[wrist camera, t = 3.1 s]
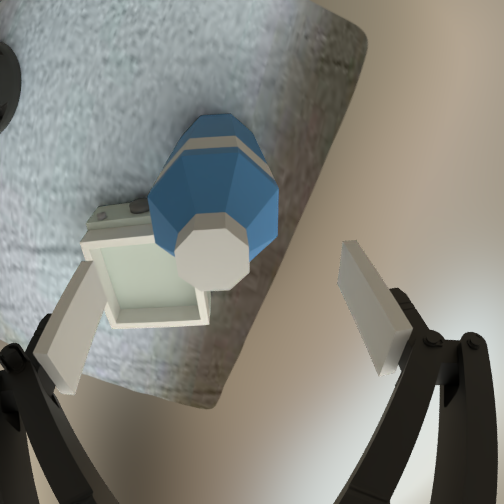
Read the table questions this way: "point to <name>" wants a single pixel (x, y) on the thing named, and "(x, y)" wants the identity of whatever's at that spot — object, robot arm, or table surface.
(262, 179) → the water bottle
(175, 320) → the open storage box
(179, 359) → the table surface
